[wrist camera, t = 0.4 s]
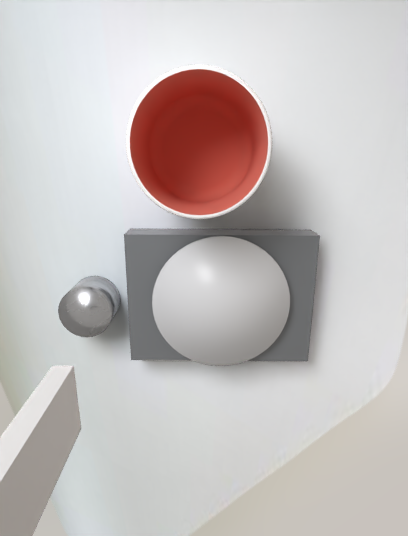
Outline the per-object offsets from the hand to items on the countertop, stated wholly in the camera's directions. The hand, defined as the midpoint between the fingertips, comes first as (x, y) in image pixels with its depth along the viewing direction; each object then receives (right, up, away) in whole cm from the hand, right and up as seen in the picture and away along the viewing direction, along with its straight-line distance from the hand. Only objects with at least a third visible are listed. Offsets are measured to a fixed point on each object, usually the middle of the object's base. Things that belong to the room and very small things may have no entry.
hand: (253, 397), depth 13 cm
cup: (-2, +16, +21) cm, 27 cm away
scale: (0, +2, +25) cm, 25 cm away
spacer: (-13, +2, +25) cm, 29 cm away
